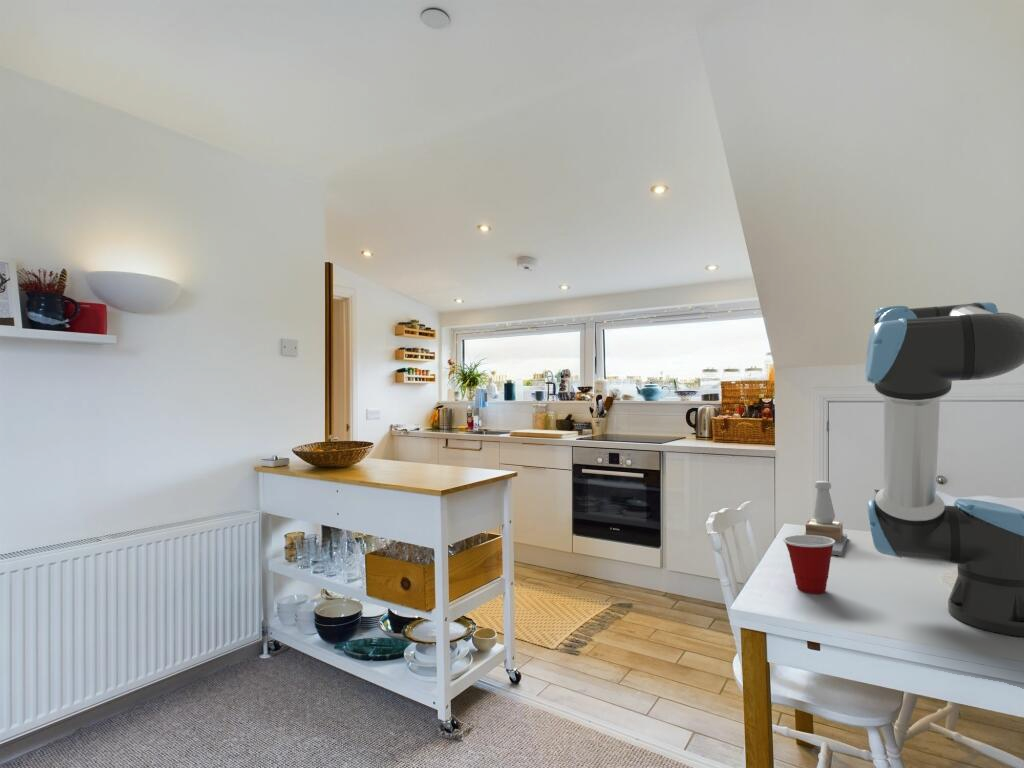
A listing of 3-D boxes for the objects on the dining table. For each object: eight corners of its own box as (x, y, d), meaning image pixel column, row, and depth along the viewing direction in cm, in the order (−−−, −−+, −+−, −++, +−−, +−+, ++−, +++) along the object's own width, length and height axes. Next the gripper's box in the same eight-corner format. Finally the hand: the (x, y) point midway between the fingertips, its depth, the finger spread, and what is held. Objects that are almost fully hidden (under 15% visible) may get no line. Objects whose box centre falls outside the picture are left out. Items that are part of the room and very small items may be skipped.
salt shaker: (829, 520, 164) (828, 479, 164) (838, 525, 158) (837, 482, 159) (809, 520, 164) (808, 479, 165) (818, 525, 159) (817, 482, 159)
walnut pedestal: (840, 542, 155) (839, 527, 155) (806, 537, 160) (805, 523, 160) (842, 535, 162) (842, 521, 162) (809, 531, 168) (809, 518, 168)
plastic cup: (792, 578, 130) (791, 529, 130) (842, 588, 122) (841, 537, 123) (777, 589, 122) (775, 538, 123) (829, 602, 115) (827, 547, 115)
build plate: (841, 556, 146) (841, 551, 146) (797, 550, 153) (797, 545, 153) (847, 538, 164) (847, 533, 164) (807, 533, 170) (807, 529, 170)
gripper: (877, 368, 149) (880, 442, 148) (875, 364, 128) (878, 450, 128) (910, 366, 144) (913, 443, 144) (913, 363, 124) (916, 452, 123)
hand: (896, 447), depth 136 cm, fingers open, 13 cm apart
